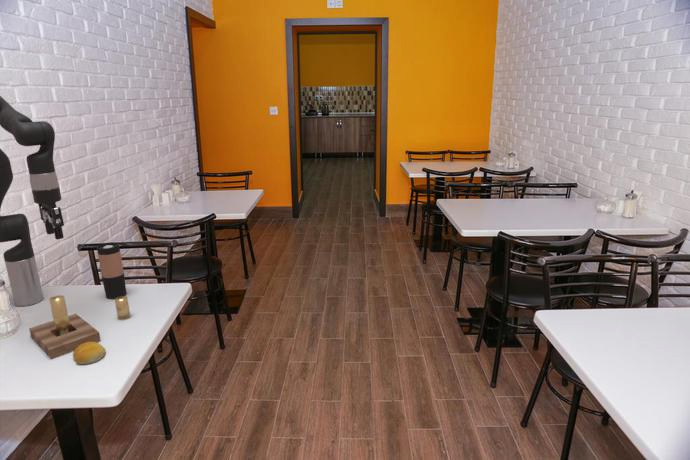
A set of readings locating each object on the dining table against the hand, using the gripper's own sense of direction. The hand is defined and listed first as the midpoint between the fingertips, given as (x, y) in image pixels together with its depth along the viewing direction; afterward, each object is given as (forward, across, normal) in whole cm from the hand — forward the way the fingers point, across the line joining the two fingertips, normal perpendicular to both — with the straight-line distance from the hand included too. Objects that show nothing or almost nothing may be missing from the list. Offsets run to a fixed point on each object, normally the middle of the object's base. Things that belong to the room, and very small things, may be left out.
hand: (55, 236), depth 159 cm
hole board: (+30, +12, -6) cm, 33 cm away
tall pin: (+30, +12, -6) cm, 33 cm away
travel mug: (+30, -10, +19) cm, 37 cm away
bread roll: (+30, +29, -5) cm, 43 cm away
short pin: (+30, +11, +13) cm, 35 cm away
